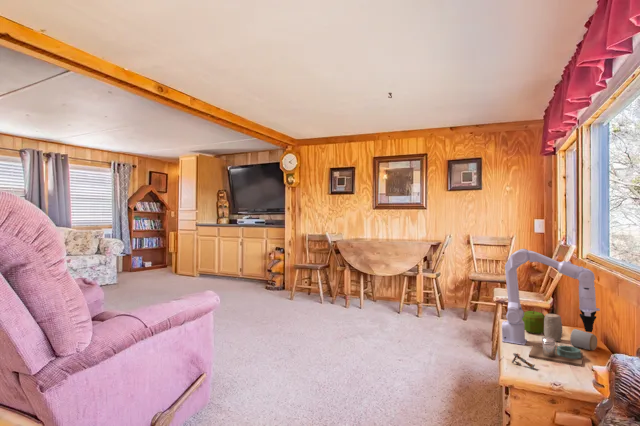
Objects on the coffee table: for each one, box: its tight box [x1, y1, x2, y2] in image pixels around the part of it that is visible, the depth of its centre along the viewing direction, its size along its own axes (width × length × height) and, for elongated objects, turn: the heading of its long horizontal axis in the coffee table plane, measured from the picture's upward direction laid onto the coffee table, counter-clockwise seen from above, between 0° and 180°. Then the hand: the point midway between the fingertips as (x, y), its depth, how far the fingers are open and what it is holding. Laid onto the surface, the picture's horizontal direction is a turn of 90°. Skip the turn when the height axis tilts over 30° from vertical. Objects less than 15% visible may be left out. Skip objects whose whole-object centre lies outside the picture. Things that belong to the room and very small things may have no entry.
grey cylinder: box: [570, 328, 598, 351], centre depth 159 cm, size 11×8×8 cm
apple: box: [522, 310, 545, 335], centre depth 182 cm, size 11×11×11 cm
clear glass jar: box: [541, 336, 556, 358], centre depth 149 cm, size 4×4×7 cm
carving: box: [543, 313, 563, 343], centre depth 170 cm, size 6×8×12 cm
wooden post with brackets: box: [511, 352, 536, 370], centre depth 142 cm, size 2×8×4 cm, turn 41°
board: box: [528, 345, 584, 367], centre depth 150 cm, size 18×14×4 cm
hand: (588, 329), depth 153 cm, fingers open, 7 cm apart
